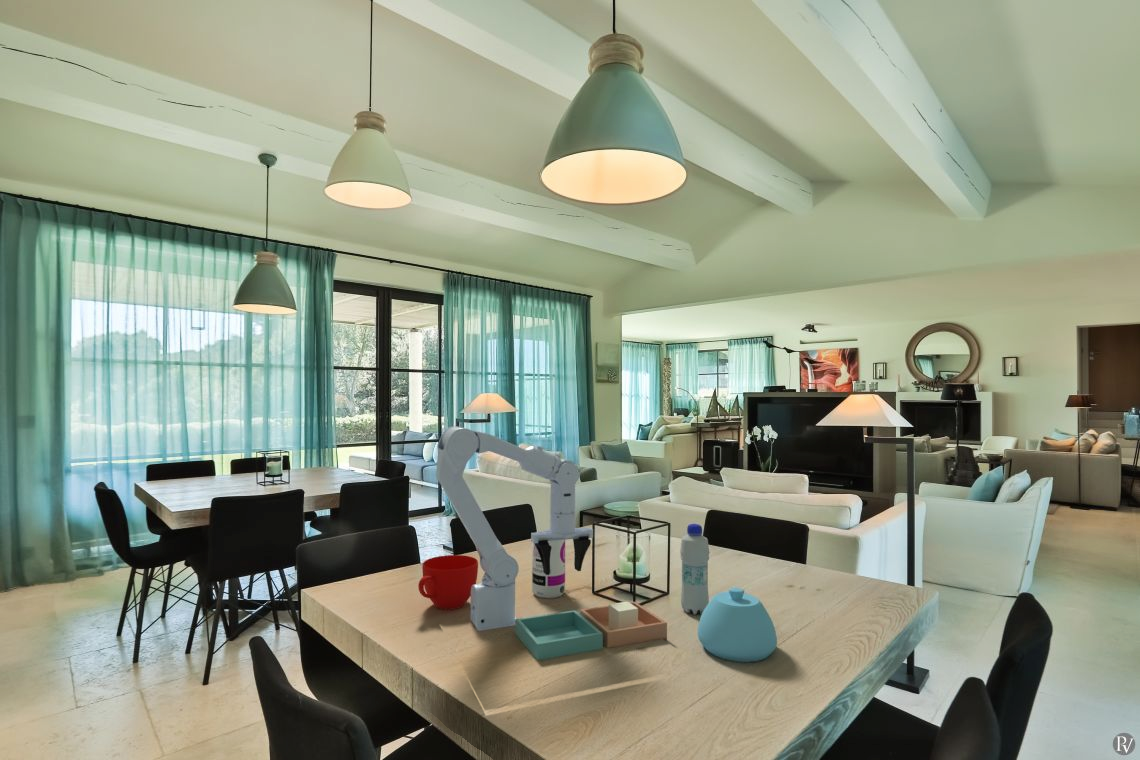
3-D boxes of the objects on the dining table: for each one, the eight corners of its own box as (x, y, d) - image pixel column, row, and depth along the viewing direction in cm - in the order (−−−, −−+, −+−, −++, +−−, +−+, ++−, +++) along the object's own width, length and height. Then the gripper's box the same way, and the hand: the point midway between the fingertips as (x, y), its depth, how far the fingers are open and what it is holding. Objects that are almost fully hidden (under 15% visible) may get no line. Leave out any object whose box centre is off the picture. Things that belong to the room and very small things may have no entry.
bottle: (710, 617, 132) (709, 527, 133) (679, 615, 134) (679, 526, 134) (709, 607, 139) (709, 521, 140) (680, 604, 140) (680, 520, 141)
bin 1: (537, 663, 109) (537, 644, 109) (515, 636, 122) (515, 619, 122) (602, 651, 114) (602, 633, 114) (575, 626, 127) (575, 610, 127)
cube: (618, 636, 120) (618, 611, 120) (608, 628, 124) (608, 604, 125) (638, 632, 122) (638, 608, 122) (627, 625, 126) (627, 601, 126)
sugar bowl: (760, 632, 124) (760, 577, 125) (789, 665, 109) (789, 601, 110) (689, 633, 124) (689, 577, 124) (709, 666, 109) (709, 602, 109)
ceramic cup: (397, 614, 134) (398, 569, 134) (446, 592, 149) (446, 552, 149) (442, 624, 128) (443, 577, 128) (488, 601, 143) (488, 559, 143)
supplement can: (566, 588, 152) (566, 530, 152) (563, 599, 144) (563, 537, 144) (535, 587, 153) (535, 529, 153) (529, 598, 144) (530, 536, 145)
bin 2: (607, 650, 115) (607, 632, 115) (580, 626, 127) (580, 609, 127) (666, 640, 120) (666, 622, 120) (634, 617, 132) (634, 601, 132)
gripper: (538, 517, 129) (538, 580, 128) (598, 512, 134) (598, 573, 134) (528, 511, 135) (527, 571, 135) (586, 507, 141) (585, 564, 140)
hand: (562, 571), depth 135 cm, fingers open, 7 cm apart
